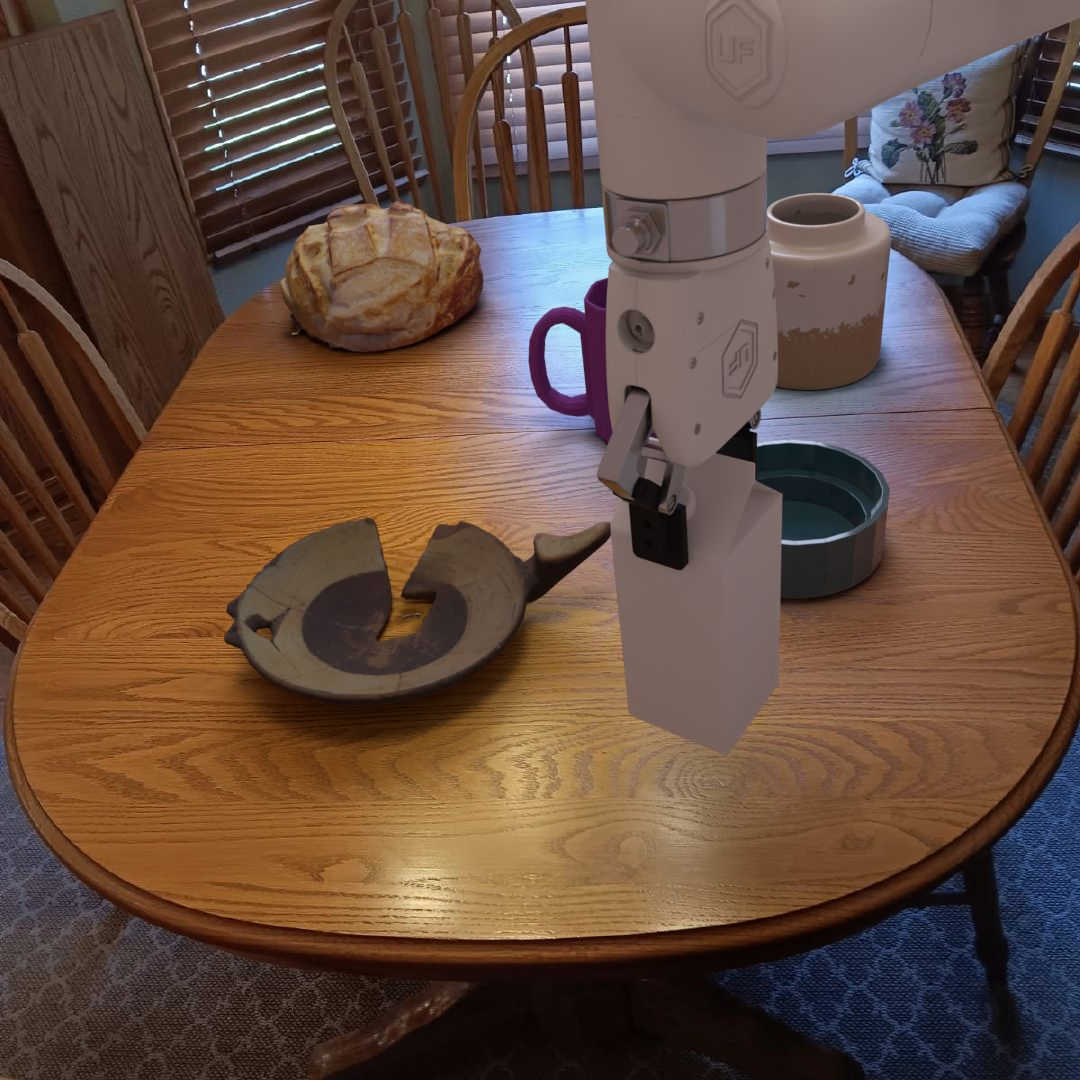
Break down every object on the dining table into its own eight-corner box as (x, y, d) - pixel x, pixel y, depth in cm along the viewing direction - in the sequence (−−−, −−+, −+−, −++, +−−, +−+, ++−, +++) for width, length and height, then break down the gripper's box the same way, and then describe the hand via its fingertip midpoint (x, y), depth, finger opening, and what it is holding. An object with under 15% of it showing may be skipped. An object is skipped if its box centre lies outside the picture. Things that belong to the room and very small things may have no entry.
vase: (868, 323, 121) (880, 178, 111) (890, 388, 109) (906, 231, 99) (734, 330, 123) (734, 189, 113) (741, 394, 111) (742, 242, 101)
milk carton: (683, 650, 71) (670, 406, 60) (779, 686, 68) (784, 432, 56) (627, 716, 67) (602, 466, 56) (727, 758, 63) (722, 498, 52)
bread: (347, 278, 153) (316, 175, 144) (516, 272, 142) (493, 161, 134) (253, 358, 135) (211, 247, 127) (438, 359, 124) (405, 237, 116)
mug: (675, 453, 103) (670, 312, 94) (525, 446, 107) (506, 310, 98) (689, 406, 110) (685, 271, 101) (547, 401, 114) (532, 271, 105)
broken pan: (305, 550, 97) (284, 481, 92) (627, 563, 90) (621, 489, 85) (195, 730, 79) (163, 656, 75) (584, 762, 73) (574, 683, 68)
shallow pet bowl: (910, 524, 90) (917, 465, 87) (837, 627, 81) (842, 566, 77) (749, 479, 98) (750, 424, 95) (667, 569, 89) (664, 511, 85)
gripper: (657, 297, 41) (677, 634, 52) (837, 161, 52) (824, 463, 62) (508, 272, 45) (554, 589, 56) (704, 151, 56) (712, 436, 66)
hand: (696, 521), depth 59 cm, fingers closed on milk carton, 7 cm apart
